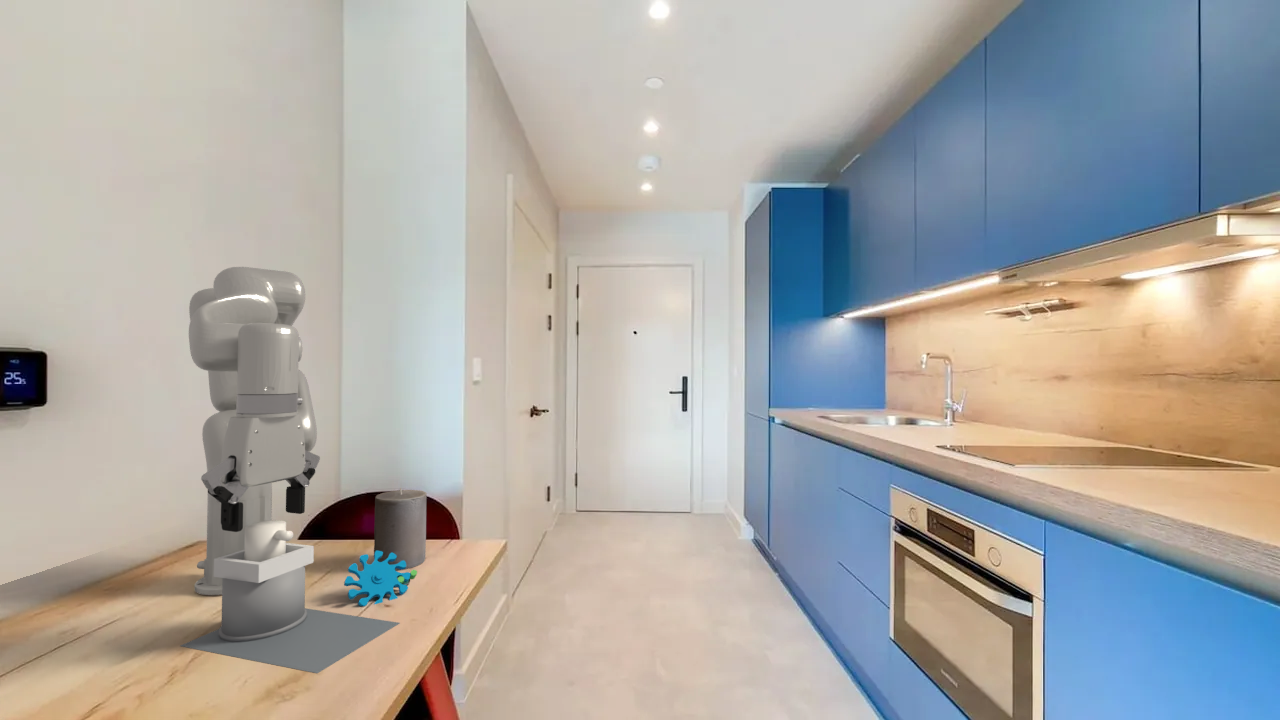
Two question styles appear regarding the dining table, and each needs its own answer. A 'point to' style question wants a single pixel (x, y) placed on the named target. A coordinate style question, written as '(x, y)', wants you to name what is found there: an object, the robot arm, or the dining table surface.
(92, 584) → the dining table surface
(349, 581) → the gear
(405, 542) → the pillar candle
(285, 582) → the motor stand
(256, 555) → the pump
